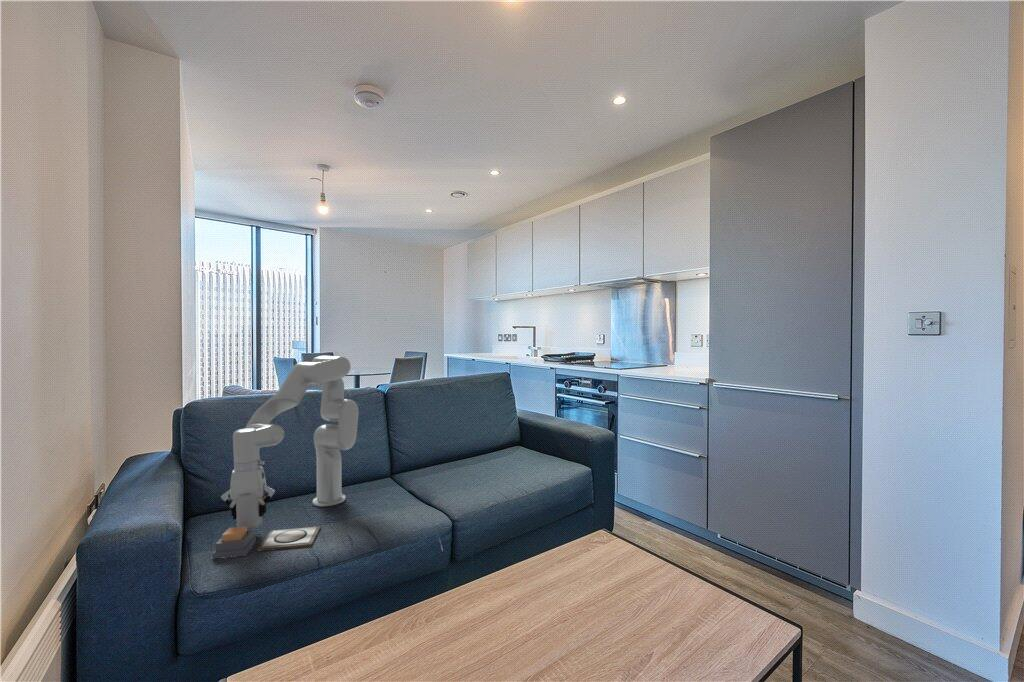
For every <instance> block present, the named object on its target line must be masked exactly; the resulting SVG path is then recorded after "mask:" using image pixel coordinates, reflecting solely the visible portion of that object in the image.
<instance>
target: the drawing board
mask: <svg viewBox="0 0 1024 682" xmlns="http://www.w3.org/2000/svg"><path fill="white" fill-rule="evenodd" d="M320 528H322V527H321V525H318V526H317V525H316V526H306V527H296V528H295V527H294V528H282V529H272V530H270V531H269V532H268V534H267V535H266V537H265V538H264V539H263V541H262V542H261V543H260V544H259V546H258V547H257V548H256V551H258V550H269V551H273V550H272V549H280V550H288V549H287V548H290V549H299V548H300V549H301V548H309V547H311V548H312V546H313V544H314V542H315V541H316V539H315V538H317V537H316V536H318V535H317V534H319V533H318V532H320V531H319V530H321V529H320Z"/></svg>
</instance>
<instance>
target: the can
mask: <svg viewBox="0 0 1024 682" xmlns="http://www.w3.org/2000/svg"><path fill="white" fill-rule="evenodd" d="M252 495H253V494H249V495H239V496H240V497H239V498H237V499H236V519H235V520H236V527H246V526H247V531H250V530H253V529H255V528H257V527H259V526H260V524H262V523H263V516H262V517H260V511H259V506H260V505H261V503H260V502H259V501H258V499H257V498H256V497H254V496H252Z"/></svg>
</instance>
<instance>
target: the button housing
mask: <svg viewBox="0 0 1024 682" xmlns="http://www.w3.org/2000/svg"><path fill="white" fill-rule="evenodd" d="M256 540H257V538H256V536H254V530H253V529H250V530H247V535H246V536H245V537H244V538H243V539H242V540H238V541H226V542H222V536H221V537H220V539H218V540H217V542H215V544H214V545H215V547H214V551H213V552H212V560H215V559H214V558H221V557H231V556H232V557H233V558H235V557H234V556H243V557H246V556H247V555H248V554H249V552H250V551H251V550H250V548H251V547H252V546H253V545H254V543H255V542H257V541H256ZM255 544H256V543H255ZM254 546H255V545H254ZM254 546H253V547H254ZM253 547H252V548H253ZM249 550H250V551H249ZM248 551H249V552H248ZM247 553H248V554H247ZM246 554H247V555H246Z"/></svg>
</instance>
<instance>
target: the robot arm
mask: <svg viewBox="0 0 1024 682" xmlns="http://www.w3.org/2000/svg"><path fill="white" fill-rule="evenodd" d="M351 368H352V366H351V361H350V360H349V359H348V358H347V357H345V356H342V355H339V356H338V355H319V356H316V357H314V358H313V359H312V360H311V361H301V362H298V363H295V364H294V365H293V367H291V370H290V372H289V373H288V374H287V376H286V378H285V379H284V381H283V382H282V384H281V386H280V387H279V389H278V391H277V392H276V393H275V395H273V396H272V397H271V398H269V399H267V400H266V401H265V402H264V403H263V404H262V405H260V406H259V407H258V408H257V409H256V410H255V411H254V412H253V414H252V416H251V417H250V419H249V421H247V423H246V426H245V428H240V429H237V430H235V431H234V432H233V433H232V451H233V453H232V454H233V468H234V469H233V470H232V472H231V477H230V484H229V486H230V488H229V489H228V490H227V491H226V492H224V493H223V494H222V495H221V496H220V498H221V499H222V501H224V503H225V504H226V505H228V507H229V508H230V511H231V516H232V520H234V521H235V520H236V499H237V498H239V497H240V496H239V495H249V494H253V495H252V496H254V497H256V498H257V499H258V501H259V502H260V503H261V505H260V506H259V511H260V517H262V518H263V516H264V515H265V514H266V513H267V502H269V500H270V499H271V498H272V497H273V495H274V494H275V493H276V490H275V489H274V488H272V487H270V486H268V485H267V481H266V480H267V479H266V475H265V470H264V466H263V465H265V460H261V458H260V449H261V448H264V447H265V448H266V447H273V446H276V445H278V444H280V443H281V442H282V441H283V439H284V438H285V431H284V429H283V427H282V426H281V425H278V424H274V423H271V421H272V420H273V419H274V418H275V417H277V416H278V415H279V414H281V413H284V412H286V411H288V410H291V409H293V408H295V407H297V406H298V405H299V404H300V402H301V401H302V400H303V397H304V395H305V394H306V392H307V391H308V389H309V387H310V385H322V386H321V387H322V391H321V402H320V410H319V411H320V417H321V418H322V419H323V420H324V421H328V422H334V423H336V422H337V424H331V423H330V424H329V423H326V424H322V425H319V426H318V427H317V428H316V429H315V431H314V433H313V443H314V448H315V455H316V458H315V459H316V497H314V498H313V499H312V505H313V506H316V507H320V508H321V507H324V508H325V507H333V506H337V505H339V504H341V503H344V502H345V501H346V495H345V493H344V494H343V492H342V491H343V490H342V484H343V483H342V454H341V451H347V450H350V449H351V448H352V447H353V446H354V445H355V443H356V440H357V434H358V426H359V425H358V424H359V415H360V412H359V407H358V405H357V403H356V401H354V400H353V399H349V398H345V383H344V380H343V378H344V377H346V376H347V375H348V374H349V373H350V371H351ZM266 493H268V494H267V496H265V494H266ZM229 496H230V497H229Z"/></svg>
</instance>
